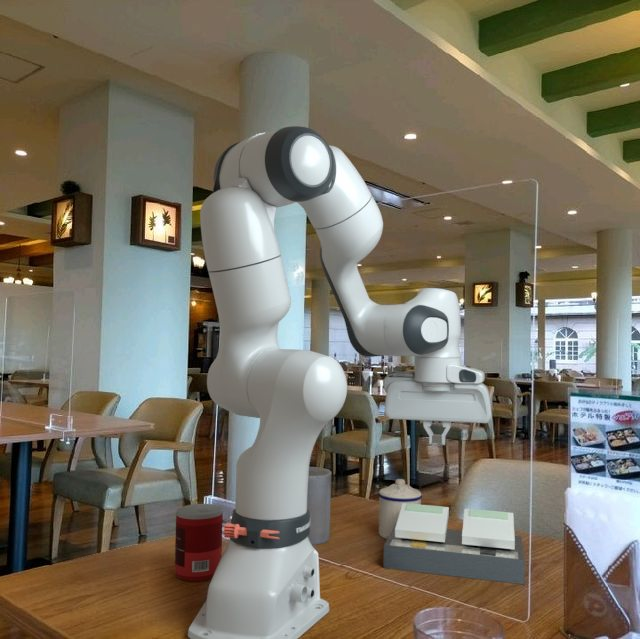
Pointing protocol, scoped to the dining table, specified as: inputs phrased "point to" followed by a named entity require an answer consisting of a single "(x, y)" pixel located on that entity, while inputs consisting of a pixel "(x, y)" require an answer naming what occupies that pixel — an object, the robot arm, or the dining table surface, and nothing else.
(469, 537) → the rocker
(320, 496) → the pillar candle
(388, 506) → the teacup with lid
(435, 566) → the switch unit
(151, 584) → the dining table surface
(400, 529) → the rocker
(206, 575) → the canned food
